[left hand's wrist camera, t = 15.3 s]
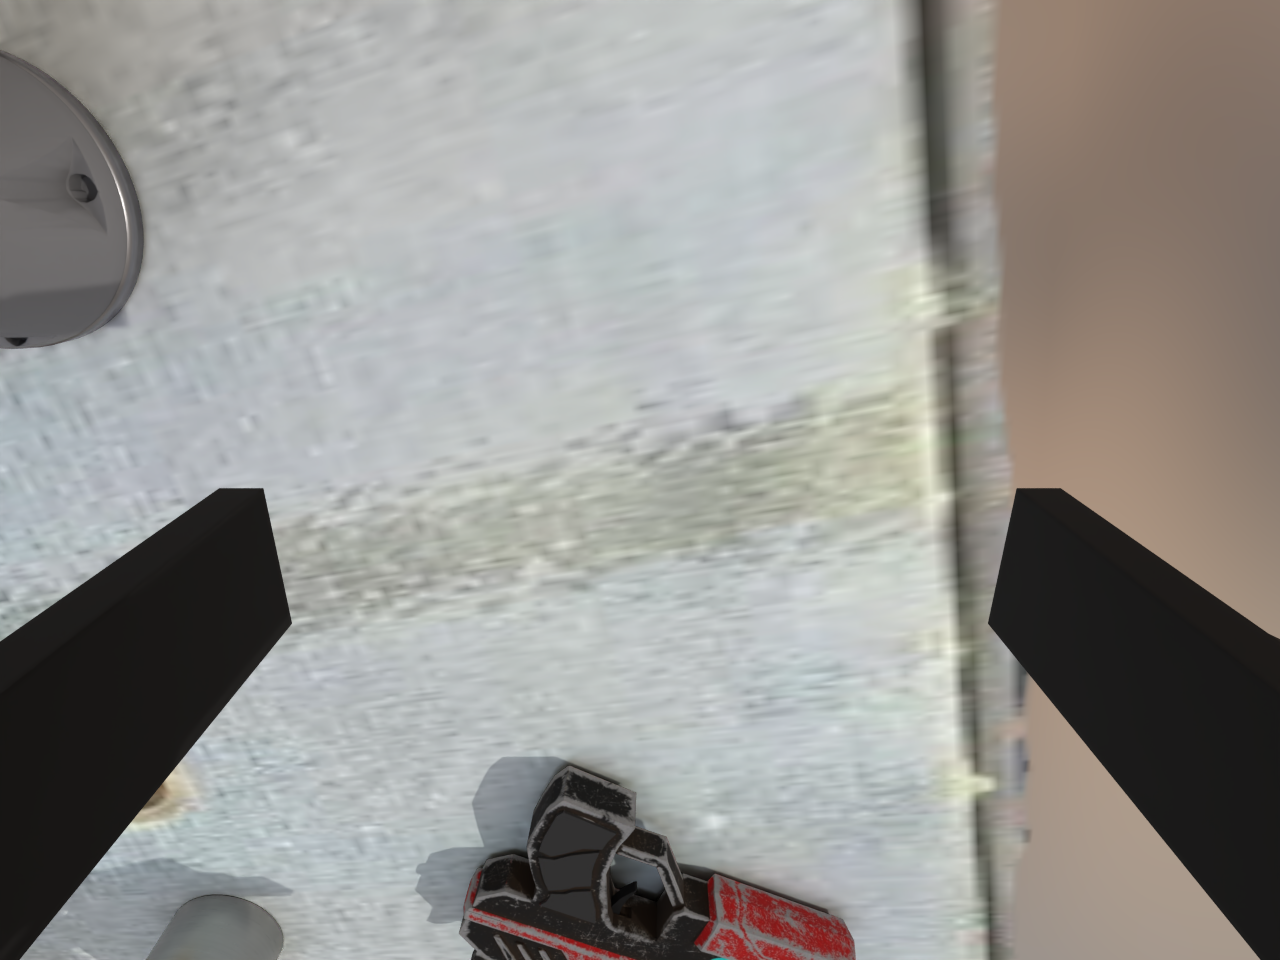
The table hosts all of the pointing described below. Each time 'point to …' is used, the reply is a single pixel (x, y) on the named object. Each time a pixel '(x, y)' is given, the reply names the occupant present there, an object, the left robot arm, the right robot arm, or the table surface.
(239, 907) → the canister
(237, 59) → the table surface
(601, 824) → the gun
